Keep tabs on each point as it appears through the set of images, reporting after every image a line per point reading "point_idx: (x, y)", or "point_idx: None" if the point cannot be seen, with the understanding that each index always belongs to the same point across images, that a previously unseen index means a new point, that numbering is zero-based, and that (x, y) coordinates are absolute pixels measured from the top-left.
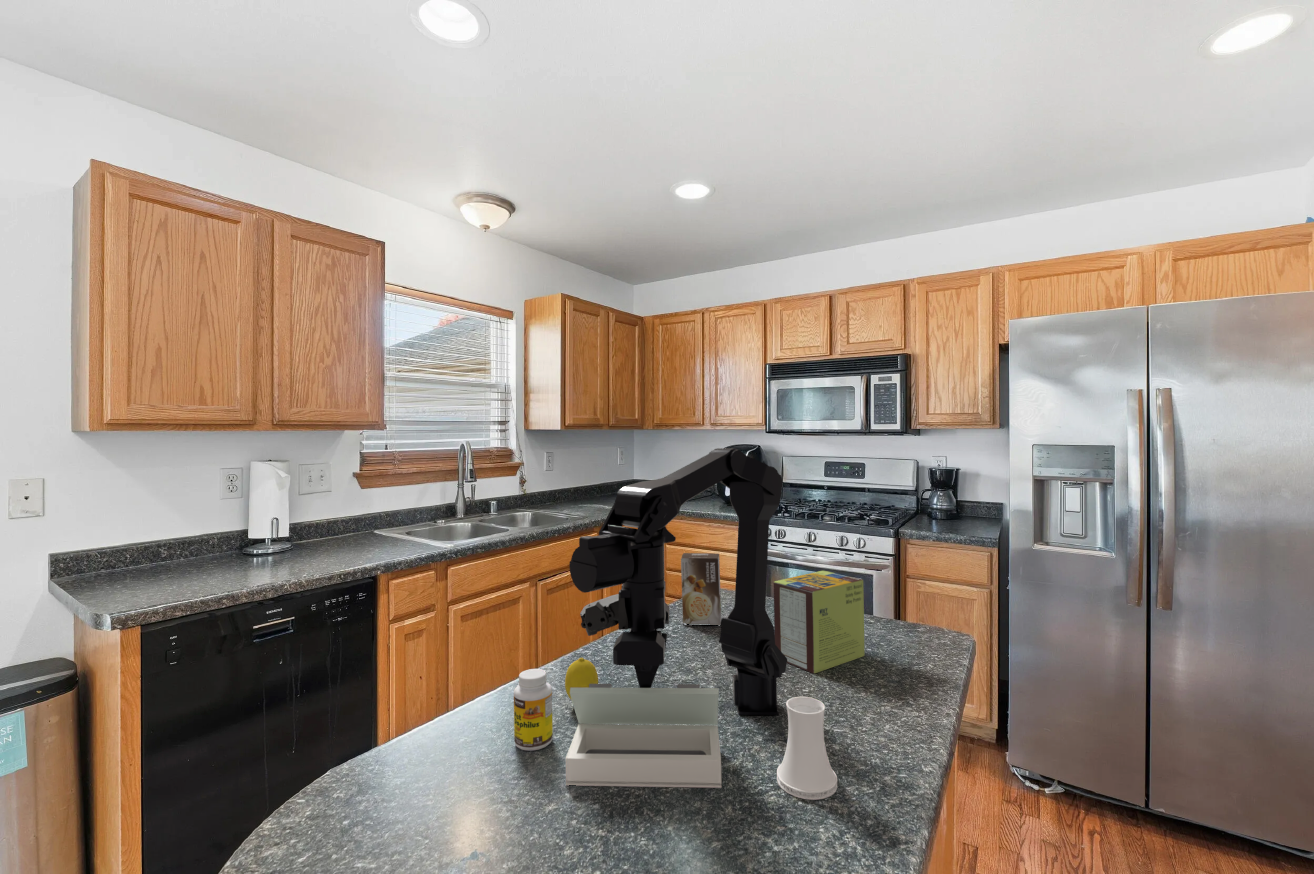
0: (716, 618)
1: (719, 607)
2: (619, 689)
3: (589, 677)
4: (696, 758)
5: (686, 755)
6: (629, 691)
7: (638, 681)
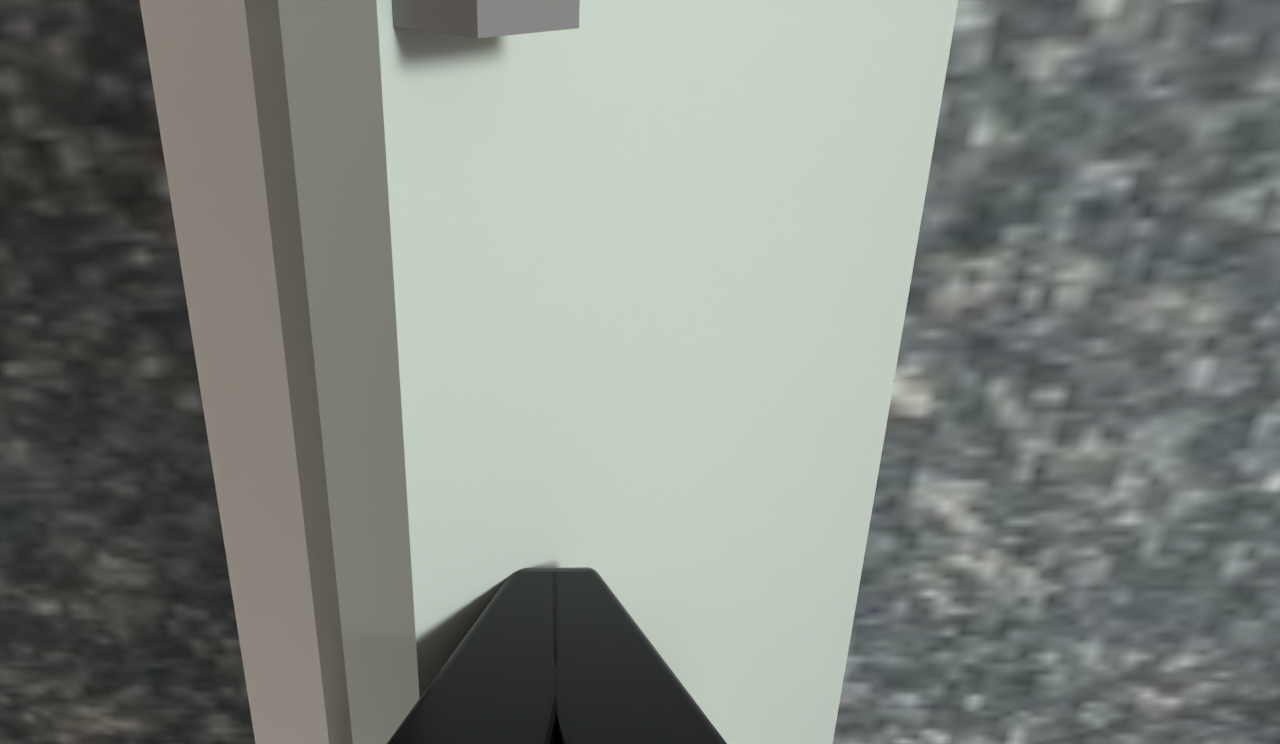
0: None
1: None
2: (363, 242)
3: None
4: (272, 698)
5: (303, 636)
6: (346, 437)
7: (425, 700)
